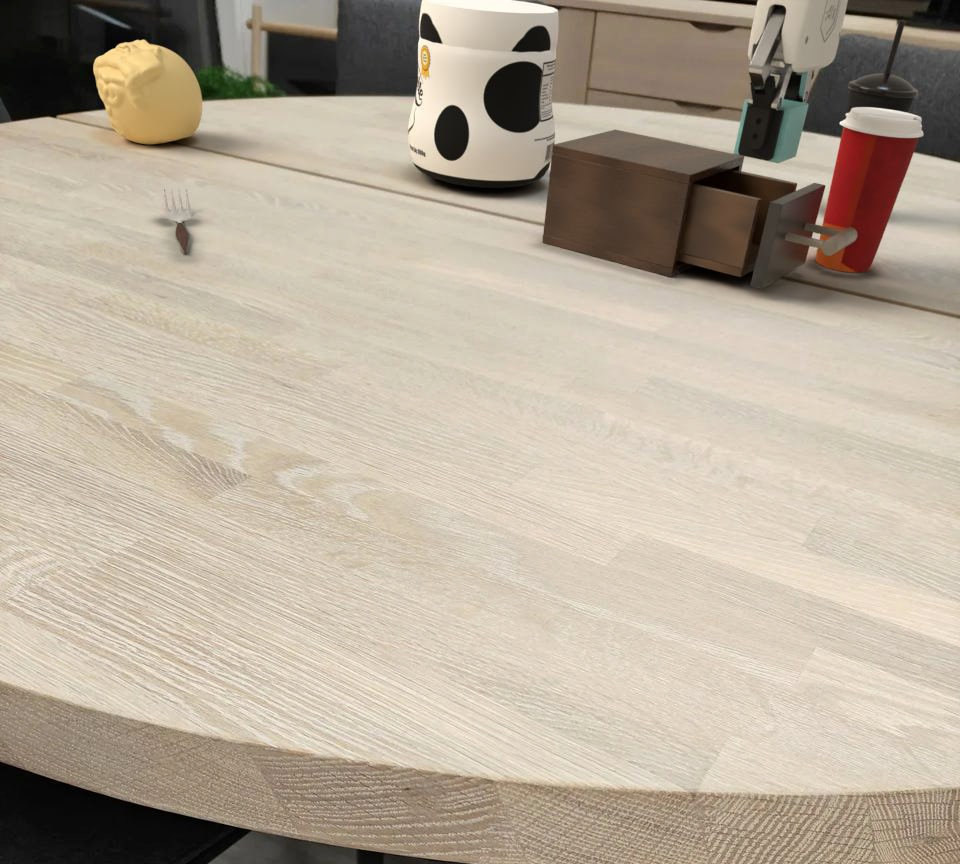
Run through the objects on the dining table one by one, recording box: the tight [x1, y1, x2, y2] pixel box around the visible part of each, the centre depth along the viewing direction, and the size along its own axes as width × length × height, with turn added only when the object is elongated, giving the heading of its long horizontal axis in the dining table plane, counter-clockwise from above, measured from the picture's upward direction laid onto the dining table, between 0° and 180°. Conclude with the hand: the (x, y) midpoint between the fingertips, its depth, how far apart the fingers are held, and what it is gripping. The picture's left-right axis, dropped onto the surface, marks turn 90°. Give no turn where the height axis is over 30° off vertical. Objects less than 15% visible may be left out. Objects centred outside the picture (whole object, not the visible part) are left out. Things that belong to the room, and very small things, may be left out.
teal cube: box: [733, 99, 810, 164], centre depth 90 cm, size 4×4×4 cm
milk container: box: [407, 0, 560, 189], centre depth 115 cm, size 17×17×18 cm
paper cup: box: [815, 107, 925, 273], centre depth 99 cm, size 8×8×14 cm
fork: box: [163, 188, 193, 254], centre depth 95 cm, size 3×16×2 cm, turn 16°
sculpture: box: [92, 39, 203, 145], centre depth 121 cm, size 11×12×11 cm
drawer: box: [677, 169, 857, 290], centre depth 95 cm, size 18×11×7 cm, turn 55°
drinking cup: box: [839, 19, 919, 142], centre depth 115 cm, size 8×8×20 cm
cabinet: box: [541, 129, 745, 278], centre depth 99 cm, size 15×13×9 cm
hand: (766, 151), depth 91 cm, fingers closed on teal cube, 4 cm apart
